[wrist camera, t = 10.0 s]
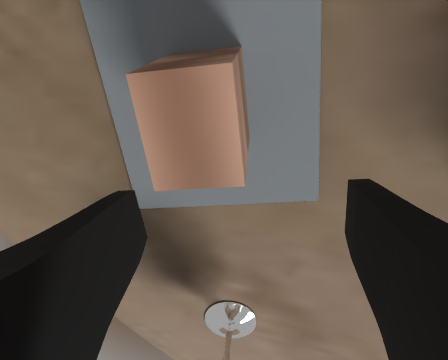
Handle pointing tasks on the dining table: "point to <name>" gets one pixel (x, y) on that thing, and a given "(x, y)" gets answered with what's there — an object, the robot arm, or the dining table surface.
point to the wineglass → (230, 322)
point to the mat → (254, 86)
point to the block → (193, 119)
